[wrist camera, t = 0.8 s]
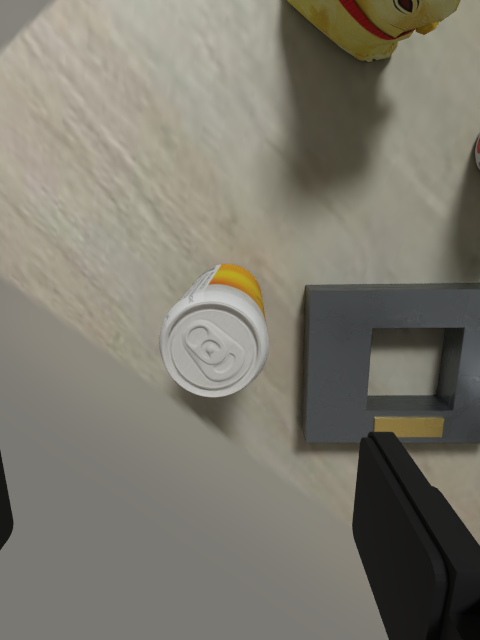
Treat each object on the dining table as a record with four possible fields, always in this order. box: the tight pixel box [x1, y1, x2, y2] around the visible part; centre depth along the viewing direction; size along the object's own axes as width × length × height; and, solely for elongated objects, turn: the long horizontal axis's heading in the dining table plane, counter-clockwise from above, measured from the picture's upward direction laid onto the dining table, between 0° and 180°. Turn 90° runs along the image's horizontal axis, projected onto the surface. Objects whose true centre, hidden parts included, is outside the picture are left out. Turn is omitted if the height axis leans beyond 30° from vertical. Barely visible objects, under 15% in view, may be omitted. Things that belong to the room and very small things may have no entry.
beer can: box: [159, 264, 269, 398], centre depth 27 cm, size 6×6×15 cm
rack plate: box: [302, 283, 480, 443], centre depth 34 cm, size 18×14×3 cm
